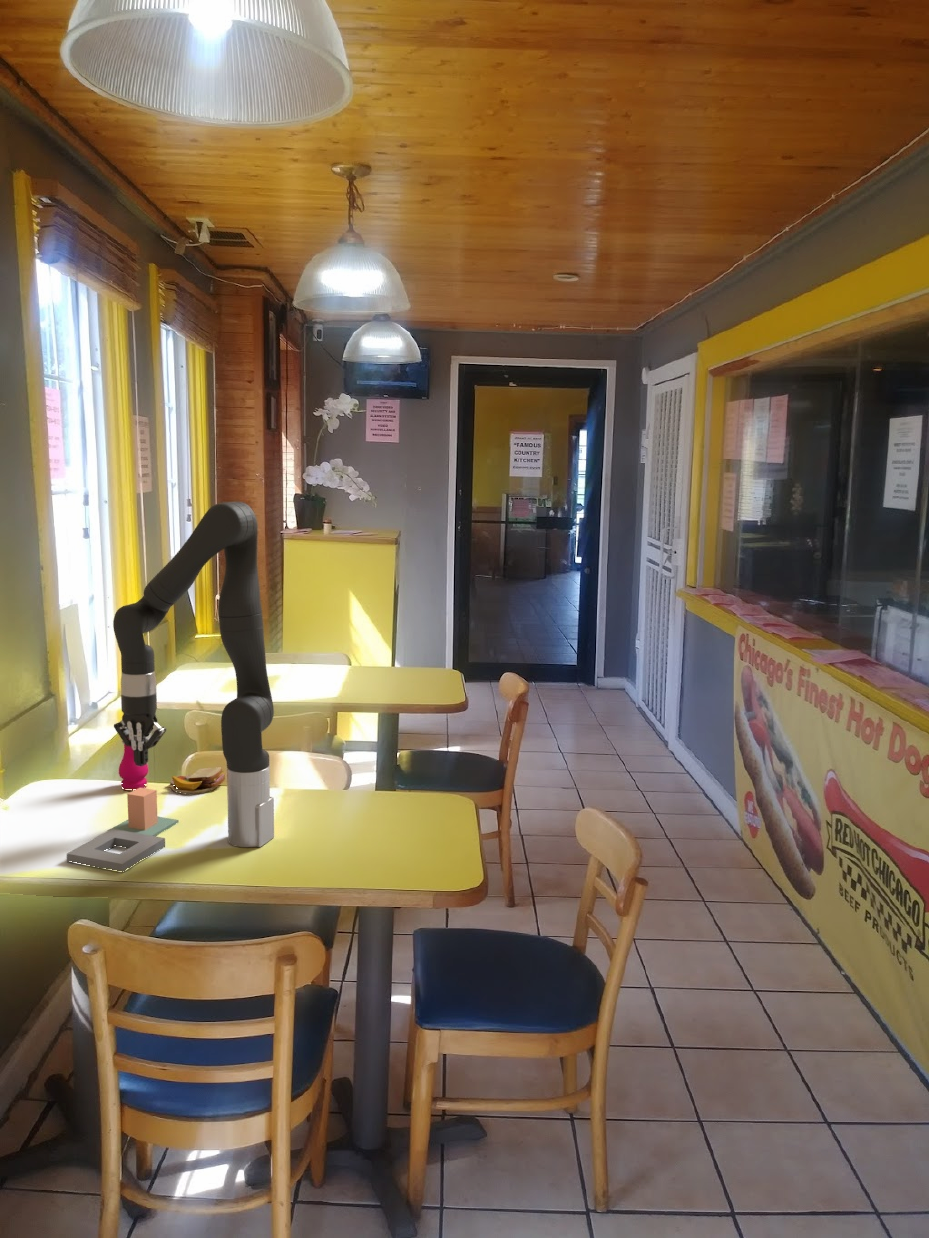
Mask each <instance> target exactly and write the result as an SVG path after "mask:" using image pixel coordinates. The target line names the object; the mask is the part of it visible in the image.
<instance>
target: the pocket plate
mask: <svg viewBox="0 0 929 1238" xmlns="http://www.w3.org/2000/svg"><path fill="white" fill-rule="evenodd" d="M110 829H111V828H110ZM108 830H109V829H108ZM108 830H107V831H105V832H103V833H102V834H100V835H98V836H96V837H94V838H93V839H90V840H89V841H87V842H85V843H84V844H83V843H82V845H80V846H78V847H76V848H74V849H72V850H71V851H69V852H67V853H66V861H67V860H68V861H72V862H77V863H81V864H86V865H90V866H95V867H99V868H106V869H112V870H117V871H122V872H123V871H125V870H126V869H127V868H130V867H131V866H133V865H134V864H136V863H137V862H139V861H140V860H142V859H144V858H146V857H148V856H150V855H151V854H153V853H154V852H156V851H157V850H159V849H161V850H162V849H164V848H166V838H165V837H162V836H150V835H145V834H139V833H133V832H128V831H122V830H116V829H111V830H109V831H108ZM114 845H116V846H114ZM113 846H114V847H117V846H122V847H126V848H125V850H124V851H122V852H120V853H116V852H112V851H111V852H110V851H104V850H106V849H109V848H111V847H113ZM114 847H113V848H114ZM122 847H121V848H122ZM163 847H164V848H163ZM128 848H129V849H128ZM111 849H112V848H111ZM109 850H110V849H109ZM159 851H160V850H159ZM156 853H157V852H156ZM154 854H155V853H154ZM154 854H153V855H154ZM151 856H152V855H151ZM151 856H150V857H151ZM148 858H149V857H148ZM146 859H147V858H146ZM99 868H98V869H99ZM130 869H131V868H130Z"/></svg>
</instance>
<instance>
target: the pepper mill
mask: <svg viewBox="0 0 929 1238" xmlns="http://www.w3.org/2000/svg"><path fill="white" fill-rule="evenodd" d="M127 738H128V737H127ZM121 743H122V744H123V756H122V759H121V761H120V763H119V767H118V775H119V777H120V778H121V779H122V780H121V781H120V785H121V786H122V787H123V788H124V789H132V790H133V789H138V788H143V787H145V788H147V786H145V785H144V784H147V785H148V780H147V778H146V776H147V775H148V774H149V766H148V763H147V764H146V765H144V766H136V765H135V762H134V751H133V749H132V747H130V746H126V745H125V743H124V742H123V740H122V739H121ZM121 783H123V784H121ZM121 786H120V787H121Z"/></svg>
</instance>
